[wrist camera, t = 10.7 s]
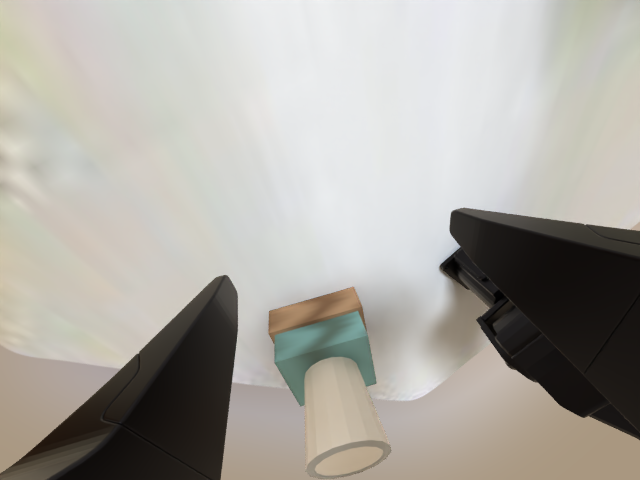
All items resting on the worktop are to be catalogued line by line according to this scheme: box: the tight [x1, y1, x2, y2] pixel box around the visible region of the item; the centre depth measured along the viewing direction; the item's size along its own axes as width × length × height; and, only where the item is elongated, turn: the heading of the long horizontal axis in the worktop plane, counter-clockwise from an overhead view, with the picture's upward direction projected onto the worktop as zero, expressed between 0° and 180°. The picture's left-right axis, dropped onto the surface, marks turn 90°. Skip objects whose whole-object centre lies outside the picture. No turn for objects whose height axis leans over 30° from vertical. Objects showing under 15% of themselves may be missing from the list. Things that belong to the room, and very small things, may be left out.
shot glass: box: [304, 357, 391, 479], centre depth 21 cm, size 7×7×7 cm
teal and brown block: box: [268, 287, 376, 406], centre depth 26 cm, size 10×10×6 cm
